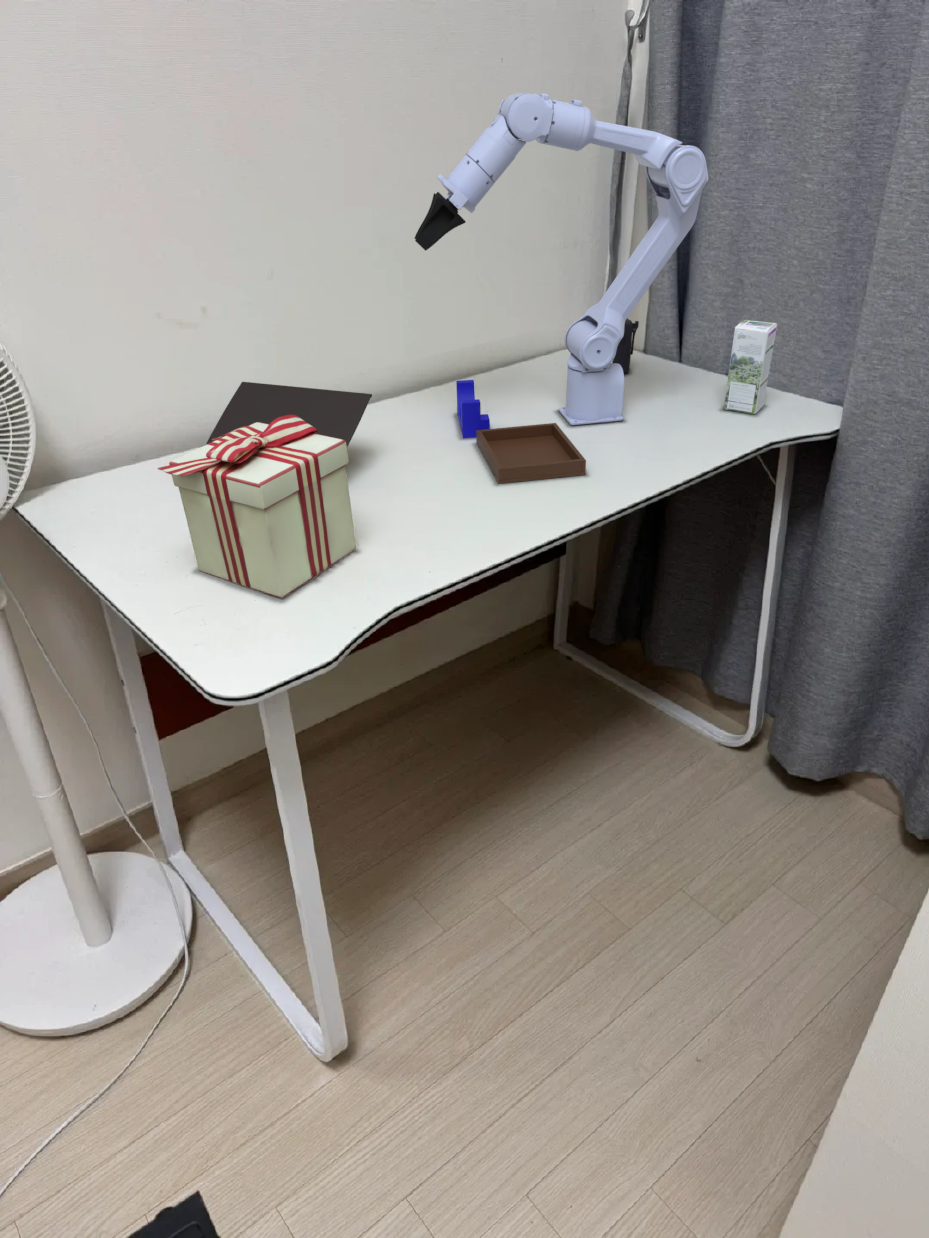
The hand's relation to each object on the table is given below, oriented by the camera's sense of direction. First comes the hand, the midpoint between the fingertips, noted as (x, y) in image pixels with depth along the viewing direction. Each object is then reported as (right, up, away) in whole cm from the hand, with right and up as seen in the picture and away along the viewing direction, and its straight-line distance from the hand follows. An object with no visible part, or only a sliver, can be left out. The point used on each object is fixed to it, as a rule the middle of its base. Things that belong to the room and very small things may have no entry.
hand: (419, 244), depth 130 cm
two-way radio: (+38, -8, +41) cm, 57 cm away
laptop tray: (-21, -36, +1) cm, 41 cm away
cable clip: (+8, -24, +18) cm, 31 cm away
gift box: (-18, -50, -21) cm, 57 cm away
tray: (+17, -32, +5) cm, 36 cm away
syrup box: (+56, -20, +22) cm, 63 cm away
